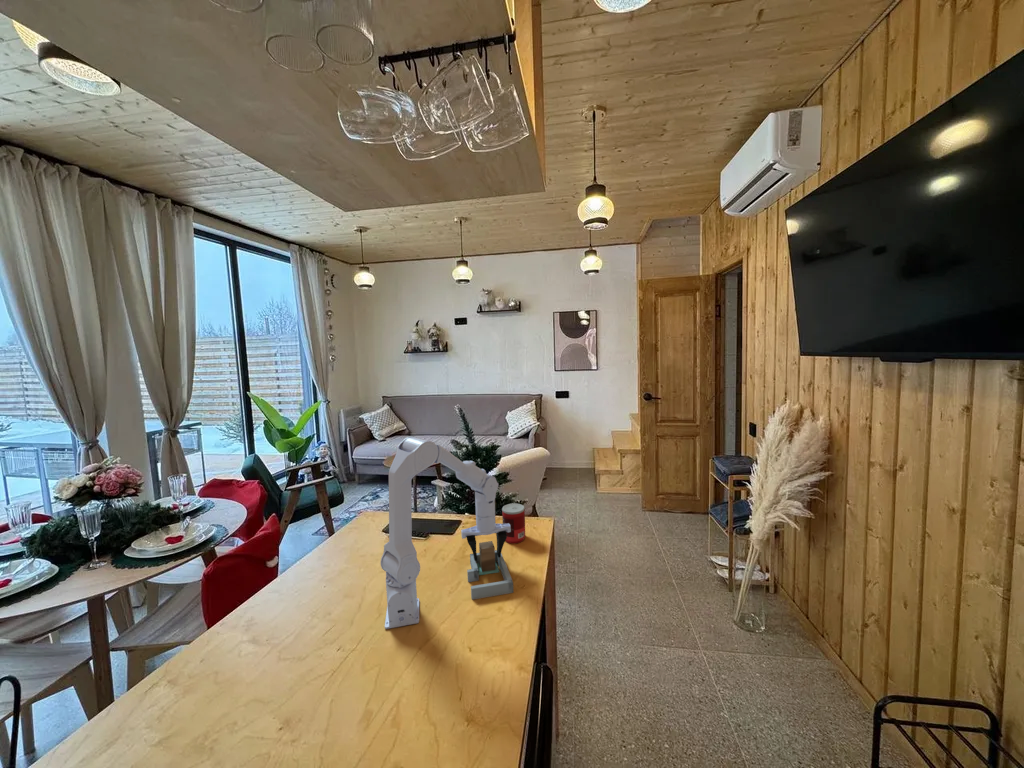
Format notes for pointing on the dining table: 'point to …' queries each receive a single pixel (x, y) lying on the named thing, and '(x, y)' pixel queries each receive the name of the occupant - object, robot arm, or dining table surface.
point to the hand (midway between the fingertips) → (487, 557)
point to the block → (487, 556)
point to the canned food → (514, 522)
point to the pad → (487, 571)
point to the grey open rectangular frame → (489, 588)
